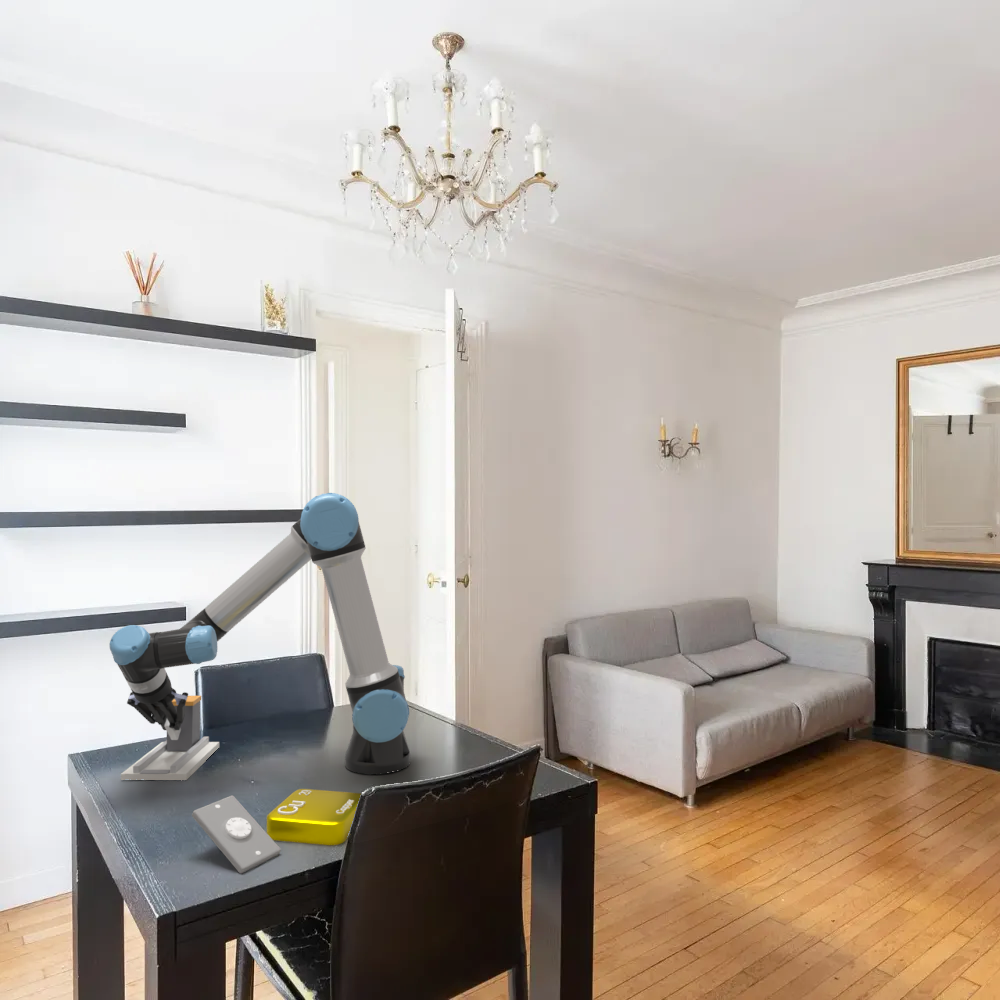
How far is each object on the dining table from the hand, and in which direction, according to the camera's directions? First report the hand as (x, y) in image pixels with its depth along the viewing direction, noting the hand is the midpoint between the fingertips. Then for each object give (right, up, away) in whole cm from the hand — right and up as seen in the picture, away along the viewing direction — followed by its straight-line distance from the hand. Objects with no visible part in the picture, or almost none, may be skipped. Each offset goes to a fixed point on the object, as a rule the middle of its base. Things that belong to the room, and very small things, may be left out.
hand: (176, 734), depth 180 cm
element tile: (+42, -7, -35) cm, 55 cm away
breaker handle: (0, -4, +4) cm, 6 cm away
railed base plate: (0, -6, -2) cm, 6 cm away
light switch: (+31, -7, -47) cm, 57 cm away
